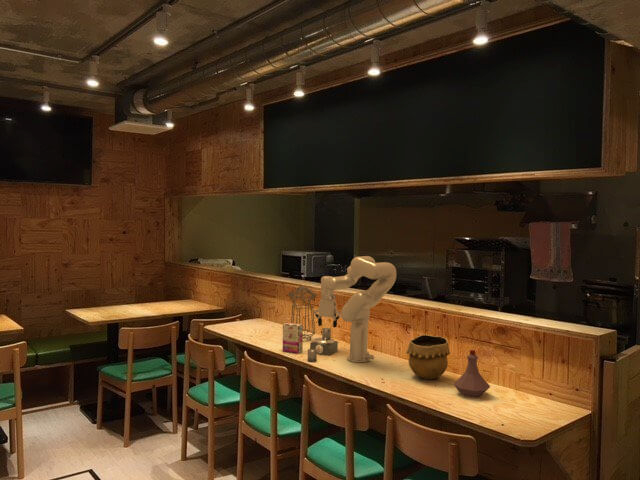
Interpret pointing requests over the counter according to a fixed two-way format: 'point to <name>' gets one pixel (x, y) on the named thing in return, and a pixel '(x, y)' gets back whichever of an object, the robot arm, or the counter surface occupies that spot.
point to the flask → (472, 379)
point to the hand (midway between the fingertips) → (327, 326)
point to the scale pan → (323, 341)
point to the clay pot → (428, 356)
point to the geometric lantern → (303, 308)
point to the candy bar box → (293, 338)
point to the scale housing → (325, 348)
